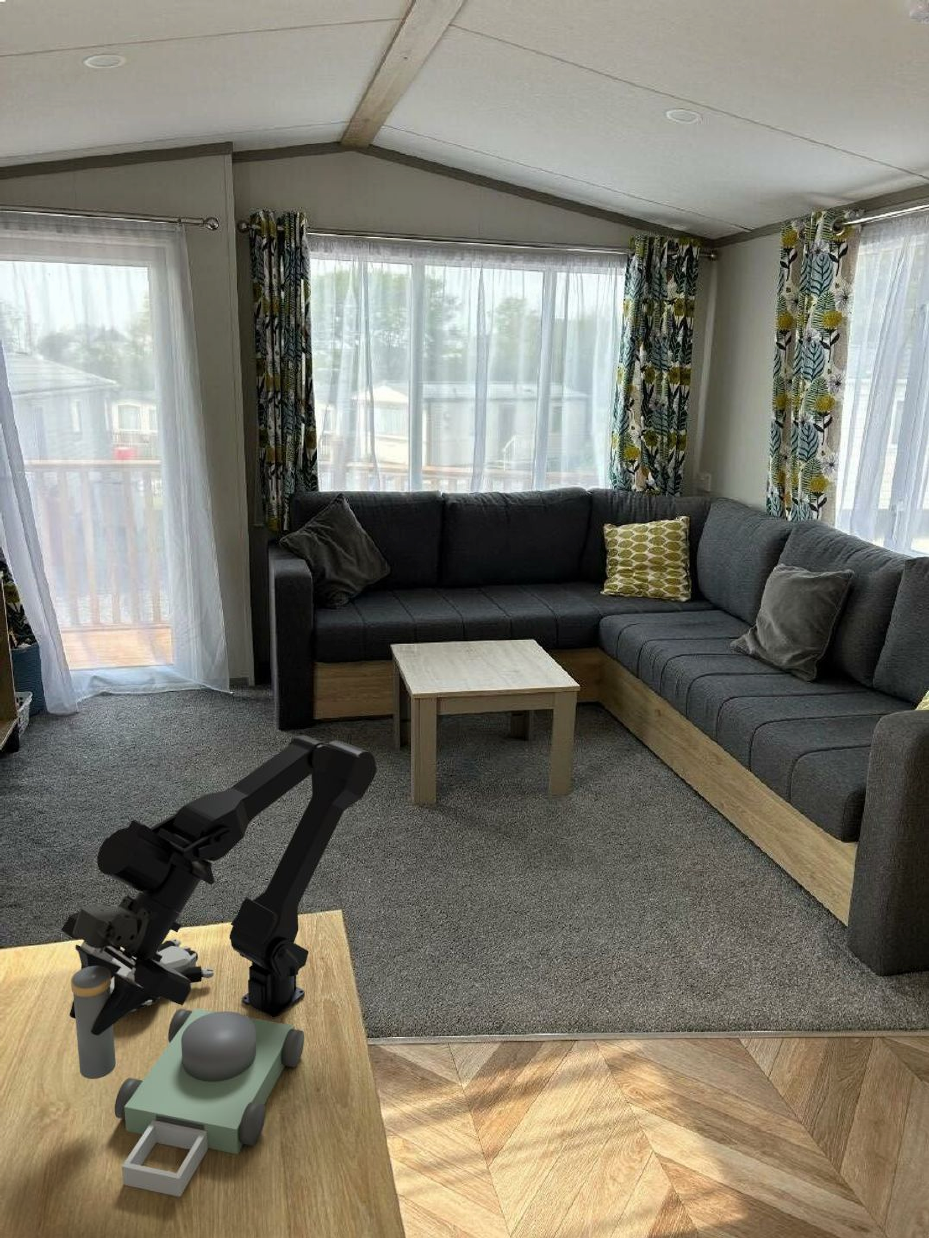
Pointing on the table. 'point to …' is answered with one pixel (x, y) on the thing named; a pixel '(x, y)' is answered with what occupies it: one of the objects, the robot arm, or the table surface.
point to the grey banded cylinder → (93, 1021)
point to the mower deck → (204, 1091)
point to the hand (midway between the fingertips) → (83, 1025)
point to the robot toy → (173, 965)
